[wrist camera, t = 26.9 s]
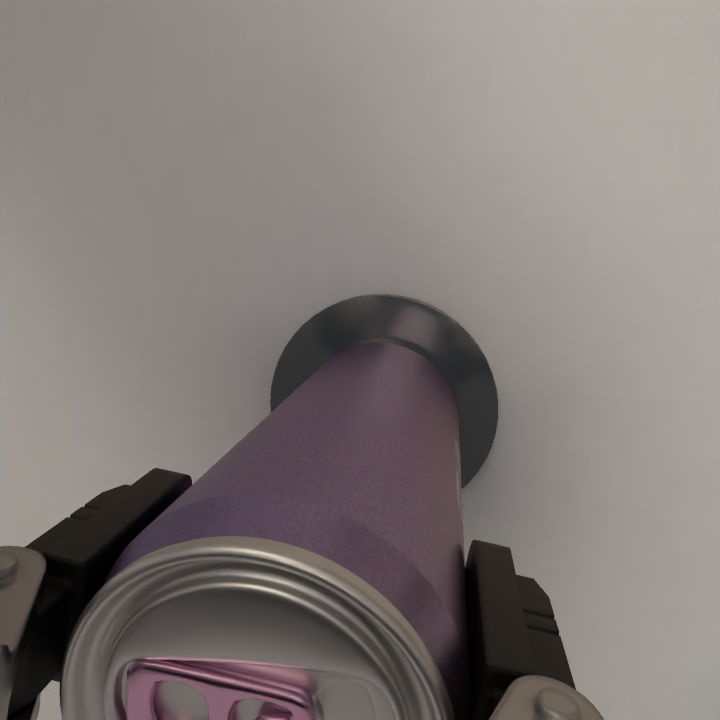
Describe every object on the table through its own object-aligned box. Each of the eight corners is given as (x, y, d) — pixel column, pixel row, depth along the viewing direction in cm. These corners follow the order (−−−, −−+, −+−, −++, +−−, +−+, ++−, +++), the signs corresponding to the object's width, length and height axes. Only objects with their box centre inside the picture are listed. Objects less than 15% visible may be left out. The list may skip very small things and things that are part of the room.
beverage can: (314, 329, 22) (41, 495, 7) (469, 350, 21) (508, 584, 6) (301, 472, 23) (46, 855, 9) (446, 497, 22) (437, 966, 8)
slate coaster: (259, 487, 24) (257, 490, 24) (288, 275, 22) (285, 276, 22) (471, 534, 23) (471, 537, 22) (520, 317, 21) (521, 318, 21)
